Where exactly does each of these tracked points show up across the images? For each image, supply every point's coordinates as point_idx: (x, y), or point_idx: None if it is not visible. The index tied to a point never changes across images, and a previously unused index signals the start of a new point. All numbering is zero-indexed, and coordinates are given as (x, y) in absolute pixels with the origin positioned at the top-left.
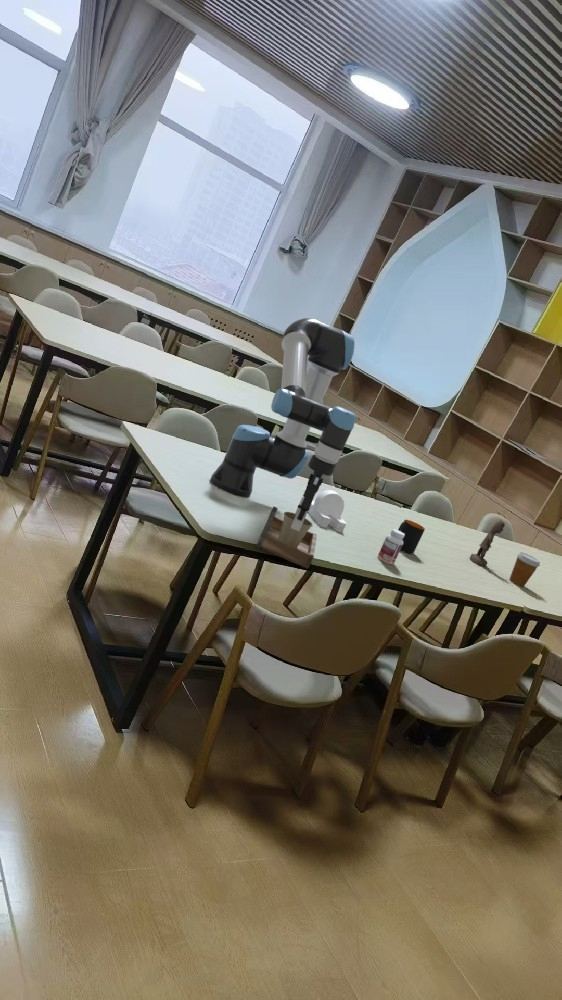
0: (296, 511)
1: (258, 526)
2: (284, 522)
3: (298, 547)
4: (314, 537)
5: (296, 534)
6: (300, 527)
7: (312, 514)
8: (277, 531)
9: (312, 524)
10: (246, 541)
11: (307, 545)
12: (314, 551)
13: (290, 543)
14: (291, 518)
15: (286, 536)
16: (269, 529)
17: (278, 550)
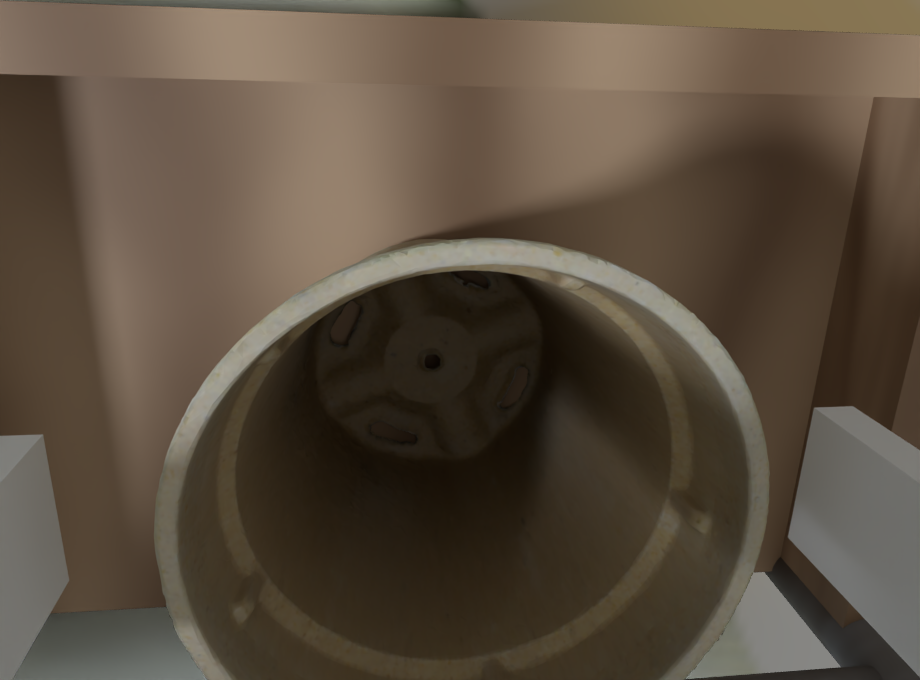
0: (23, 652)
1: (134, 659)
2: (548, 621)
3: (368, 217)
4: (7, 42)
5: (623, 376)
6: (899, 443)
7: None
8: (87, 501)
9: (447, 254)
10: (743, 650)
11: (86, 97)
12: (805, 32)
13: (562, 346)
14: (258, 590)
15: (574, 444)
16: (157, 578)
17: None
